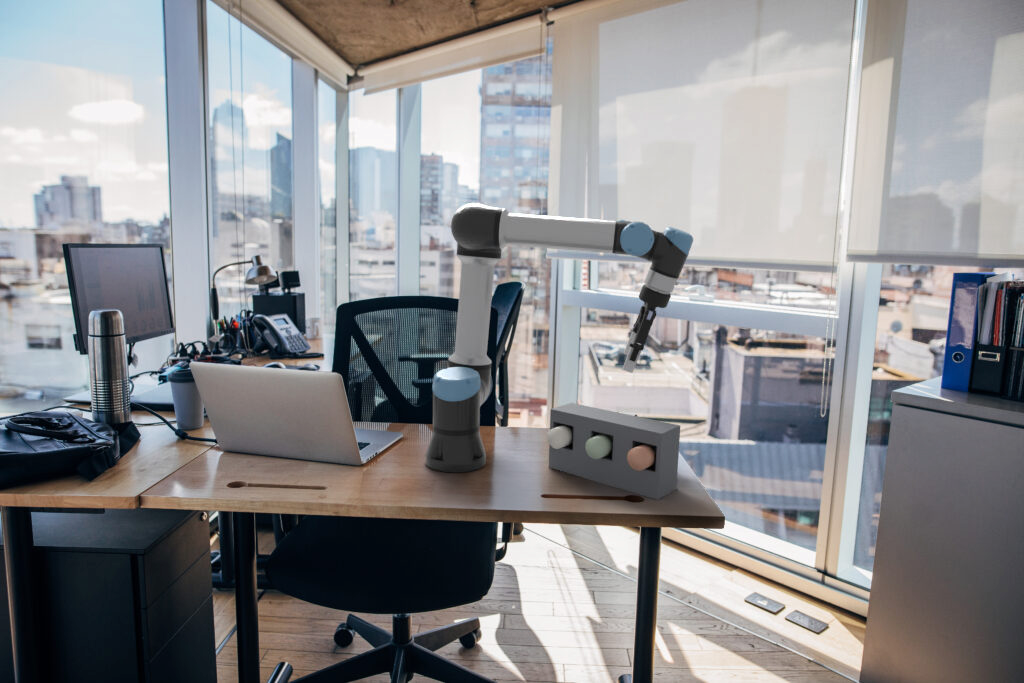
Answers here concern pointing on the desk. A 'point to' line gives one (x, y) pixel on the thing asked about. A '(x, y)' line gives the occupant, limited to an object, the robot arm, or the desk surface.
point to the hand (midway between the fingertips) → (627, 362)
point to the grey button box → (617, 449)
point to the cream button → (560, 436)
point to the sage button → (599, 446)
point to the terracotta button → (641, 457)
